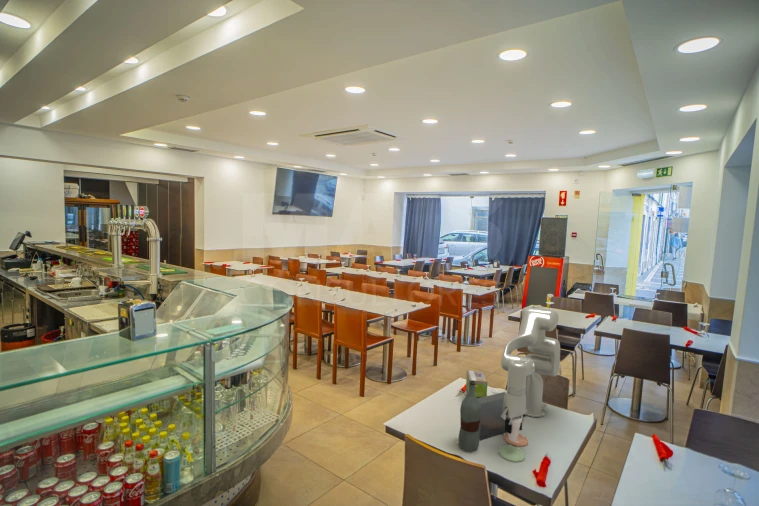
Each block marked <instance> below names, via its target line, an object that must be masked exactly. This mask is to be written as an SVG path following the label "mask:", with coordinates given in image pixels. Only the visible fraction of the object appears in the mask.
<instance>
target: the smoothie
mask: <svg viewBox="0 0 759 506" xmlns="http://www.w3.org/2000/svg"><path fill="white" fill-rule="evenodd" d="M509 419H510V418H508V420H509ZM521 422H522V423H523V421H522V418H521V417H519V416H518V417H515V418H513V419H512V422H511V425H512V432H511V434H509V433H508V432H507V433H508V439H509V440H510V441H514V442H515V441H517V439H518V434H520V430H519V429H520V424H521Z"/></svg>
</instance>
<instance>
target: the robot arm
mask: <svg viewBox="0 0 759 506" xmlns="http://www.w3.org/2000/svg"><path fill="white" fill-rule="evenodd" d="M521 317H522V319H521V323H520V326H519V330H518V335H517V336H515V337H513V338H512V339H510V340H509V341H508V342H507V343H506V344H505V346H504V348H503V351H502V355H501V360H500V366H501V368H502V369H503V370H504V371H506V372H507V381H506V392H505V396H504V401H503V408H502V415H501V418H502V419H503V420H504V422H505V431H506V432H507V433H509V434H511V432H512V425H511V422H512V419H513V418H515V417H518V416H519V417H521V418H522V422H521V424H520V429H519V431H522V430H523V421H524V420H525V417H526V416H527V417H530V418H531V417H532V418H542V417H543V416H544V415H545V410H544V409H543V408H544V407H547V406H548V405H547V403H546V402H543V394H544V379H543V377H542V375H544V376H549V377H557V376H558V375H559V372H560V361H561V345H560V344H561V343H560V341H559V340H558V339H557V338H553V337H549V336H548V337H547V336H546V332H552V331H554V330H555V328H556V327H558V324H559V313H558V312H557V311H556V310H553V309H546V308H539V307H531V306H526V307H523V308H522V309H521ZM526 347H527V350H528V351H529V352H530V353H527V354H526V355H525V356H521V355H518V354H517V355H516V354H512V352H514V351H516V350H518V349H521V348H526ZM508 418H510V419H509V420H508Z"/></svg>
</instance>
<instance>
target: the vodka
mask: <svg viewBox="0 0 759 506" xmlns="http://www.w3.org/2000/svg"><path fill="white" fill-rule="evenodd" d="M469 382H470V383H469V393H468V394H467V396H466V395H465V397H464V398H463V400H462V401H461V403H460V408H459V413H460V417H459V418H460V428H459V431H458V432H459V433H458V444H459V448H460V449H461V450H462V451H464V452H468V453H474V452H477V451H478V449H479V446H480V442H481V441H480V439H479V424H480V417H481V405H480V402H479V401H478V399H477V397H476V395H475V381H469Z"/></svg>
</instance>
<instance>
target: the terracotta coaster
mask: <svg viewBox="0 0 759 506" xmlns="http://www.w3.org/2000/svg"><path fill="white" fill-rule="evenodd" d="M502 438H503V441H504V442H505V443H506V444H508V445H509V446H514V447H517V448H524V447H527V446H528V444H529V439H528V437H526V436H525V435H524V434H523V433H519V434H518V439H517V441H515V442H514V441H510V440H509V439H508V432H507V433H504V434H503V437H502Z"/></svg>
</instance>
